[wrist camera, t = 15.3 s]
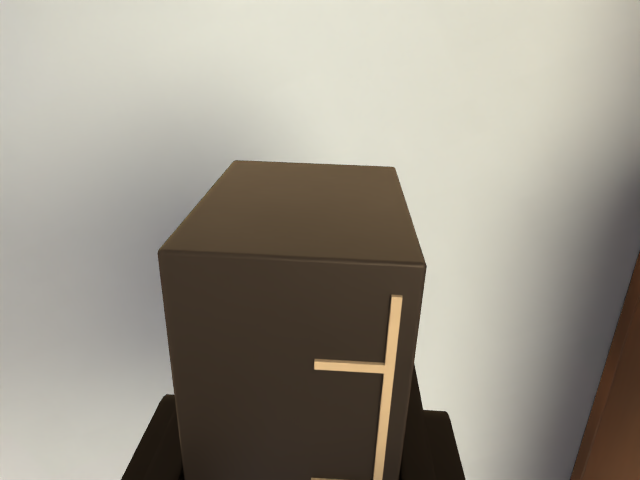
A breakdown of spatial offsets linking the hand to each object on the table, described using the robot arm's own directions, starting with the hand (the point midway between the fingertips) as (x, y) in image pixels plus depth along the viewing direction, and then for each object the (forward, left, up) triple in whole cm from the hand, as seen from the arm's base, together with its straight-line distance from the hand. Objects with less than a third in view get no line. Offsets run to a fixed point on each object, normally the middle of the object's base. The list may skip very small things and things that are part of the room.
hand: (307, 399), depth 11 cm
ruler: (0, 0, 0) cm, 0 cm away
